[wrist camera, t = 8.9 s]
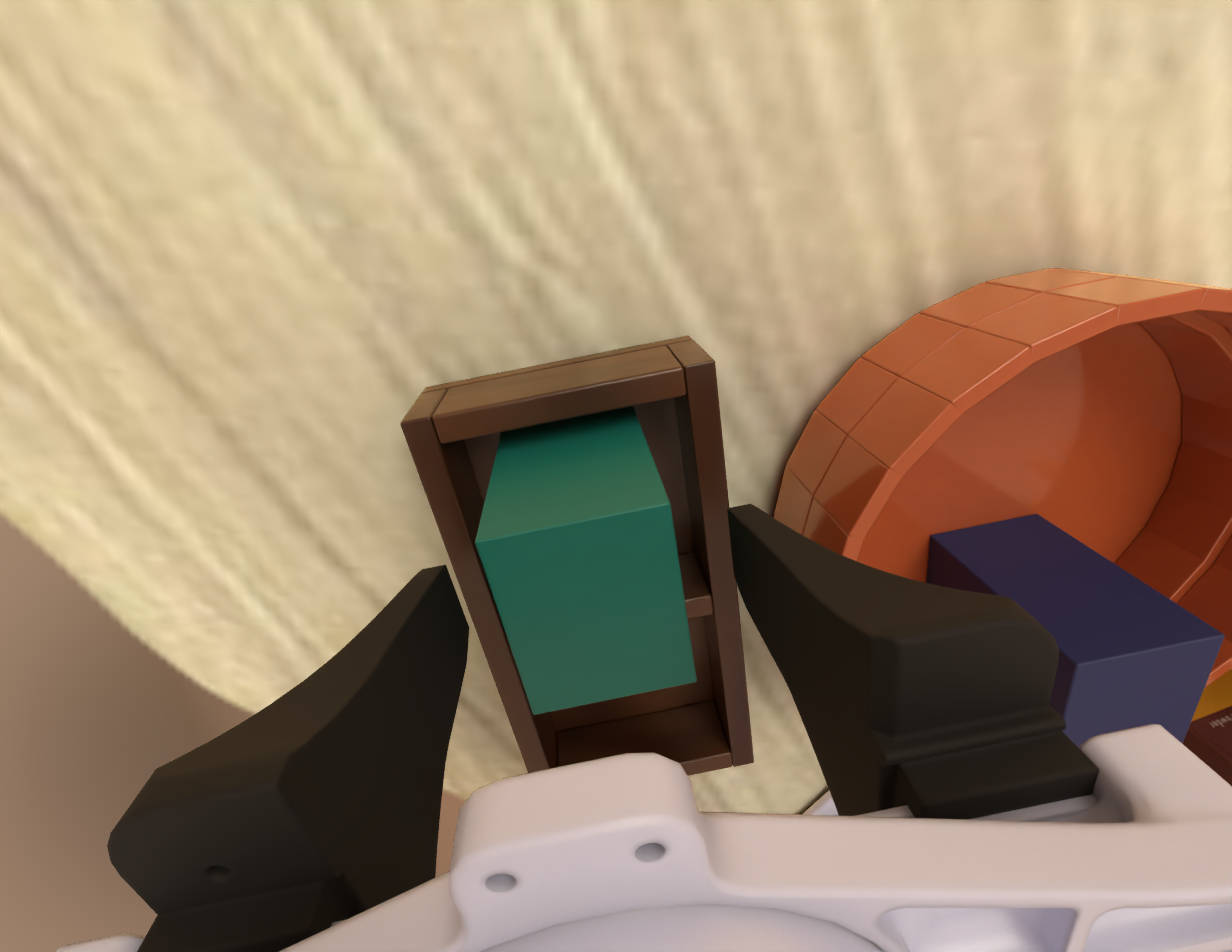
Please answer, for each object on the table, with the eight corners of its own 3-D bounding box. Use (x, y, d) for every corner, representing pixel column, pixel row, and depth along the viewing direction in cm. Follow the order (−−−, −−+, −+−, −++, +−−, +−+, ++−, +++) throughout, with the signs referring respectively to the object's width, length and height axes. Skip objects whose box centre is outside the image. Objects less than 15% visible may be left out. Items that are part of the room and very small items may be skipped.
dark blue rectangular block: (920, 638, 23) (1046, 789, 17) (929, 534, 21) (1077, 665, 15) (1017, 619, 23) (1176, 761, 17) (1037, 512, 21) (1227, 634, 15)
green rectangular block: (539, 561, 19) (533, 716, 14) (501, 426, 17) (473, 541, 11) (654, 538, 19) (697, 683, 14) (631, 400, 17) (670, 502, 11)
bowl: (1134, 615, 24) (1267, 709, 20) (778, 688, 24) (830, 800, 19) (1251, 223, 17) (1495, 230, 13) (755, 321, 17) (826, 363, 13)
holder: (541, 736, 24) (539, 807, 21) (424, 387, 17) (398, 422, 14) (731, 698, 24) (754, 763, 21) (689, 335, 17) (715, 360, 14)
